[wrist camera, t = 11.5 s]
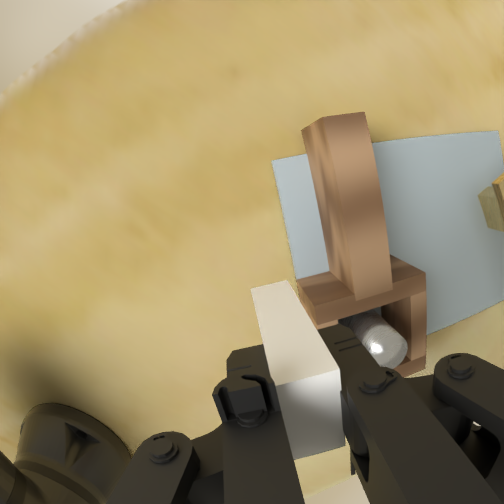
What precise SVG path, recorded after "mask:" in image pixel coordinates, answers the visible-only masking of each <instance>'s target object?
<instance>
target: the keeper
mask: <svg viewBox="0 0 504 504" xmlns="http://www.w3.org/2000/svg"><path fill="white" fill-rule="evenodd" d="M492 186H493V187H490V186H488V187H486V188H485V189H484V190H483V191H482V192H481V193H479V194H478V198H479V201H480V204H481V207H482V210H483V213H484V217H485V220H486V223H487V226H488V228H490V229H494V230H498V231H502V232H504V173H502V174H501V175H500V176H499V177H498V178H497V179H496V180H495V181H493V182H492Z"/></svg>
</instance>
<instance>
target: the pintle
mask: <svg viewBox="0 0 504 504" xmlns="http://www.w3.org/2000/svg"><path fill="white" fill-rule="evenodd" d="M338 321H339V322H340V324H341V325H343V326H345V327H348V328H350V329H351V330H352V331H353V332H354V334H355V335H356V336H357V338H358V339H359V340H360V341H361V343H362V345H364V346H365V348H366V349H367V350H368V351H369V353H370V354H371V355H372V356H373V358H374V359H375V360H376V361H377V363H378V364H379V365H380V367H388V368H391V369H394V368H395V367H397V366H398V365H399V364H400V363H401V362H402V361H403V359H404V358H405V356H406V353H407V349H408V346H407V342H406V340H405V339H404V338H403V337H402V336H401V335H400V334H399V333H398V332H397V331H396V330H395V329H394V328H393V327H392V326H391V325H389V324H388V323H387V322H386V321H385V320H384V319H383V318H382V317H381V316H380V315H379V314H378V313H377V312H376V311H375V310H374V309H371V310H368V311H364V312H361V313H358V314H355V315H351V316H348V317H345V318H341V319H338Z"/></svg>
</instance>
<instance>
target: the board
mask: <svg viewBox="0 0 504 504" xmlns="http://www.w3.org/2000/svg"><path fill="white" fill-rule="evenodd" d="M372 147H373V152H374V157H375V162H376V167H377V172H378V178H379V183H380V189H381V195H382V201H383V208H384V214H385V221H386V229H387V236H388V244H389V253H390V254H391V255H393V256H395V257H396V258H398V259H400V260H402V261H404V262H406V263H408V264H410V265H412V266H414V267H416V268H418V269H420V270H422V271H424V272H426V295H427V335H429V334H431V333H433V332H436V331H438V330H441V329H443V328H445V327H448V326H450V325H452V324H455V323H457V322H459V321H461V320H463V319H466V318H468V317H470V316H472V315H474V314H476V313H479V312H481V311H483V310H485V309H487V308H489V307H491V306H493V305H495V304H497V303H499V302H501V301H503V300H504V232H502V231H498V230H494V229H490V228H488V226H487V223H486V220H485V217H484V213H483V210H482V207H481V204H480V201H479V198H478V194H479V193H481V192H482V191H483V190H484V189H485V188H486V187H488V186H490V187H493V186H492V182H493V181H495V180H496V179H497V178H498V177H499V176H500V175H501V174H502V173H504V164H503V157H502V150H501V144H500V138H499V133H498V131H485V132H470V133H457V134H445V135H435V136H425V137H416V138H407V139H399V140H391V141H384V142H376V143H372ZM271 162H272V167H273V171H274V176H275V180H276V185H277V189H278V194H279V199H280V203H281V208H282V212H283V217H284V222H285V227H286V232H287V236H288V241H289V246H290V251H291V256H292V261H293V266H294V271H295V276H296V280H297V279H301V278H304V277H308V276H312V275H316V274H320V273H324V272H327V271H329V265H328V259H327V253H326V247H325V242H324V236H323V231H322V225H321V220H320V215H319V210H318V205H317V200H316V195H315V190H314V185H313V180H312V175H311V171H310V166H309V162H308V157H307V154H303V155H298V156H293V157H288V158H283V159H278V160H273V161H271ZM374 310H375V311H376V312H377V313H378V314H379V315H380V316H381V306H380V307H377V308H374ZM338 324H340V322H339V321H338Z"/></svg>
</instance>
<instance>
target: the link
mask: <svg viewBox="0 0 504 504" xmlns="http://www.w3.org/2000/svg"><path fill="white" fill-rule="evenodd" d="M301 131H302V135H303V140H304V144H305V148H306V153H307V157H308V162H309V166H310V171H311V175H312V180H313V185H314V190H315V195H316V200H317V205H318V210H319V215H320V220H321V225H322V231H323V236H324V242H325V247H326V253H327V259H328V265H329V271H327V272H324V273H320V274H316V275H312V276H308V277H304V278H301V279H297V280H296V282H297V287H298V292H299V297H300V302H301V304H302V306H303V307H304V309H305V311H306V313H307V314H308V316H309V318H310V319H311V321H312V323H313V324H314V326H315V328H316V329H317V330H318V329H321V328H325V327H329V326H332V325H336V324H338V319H341V318H345V317H348V316H351V315H355V314H358V313H361V312H364V311H368V310H371V309H374V308H377V307H380V306H381V317H382V318H383V319H384V320H385V321H386V322H387V323H388V324H389V325H391V326H392V327H393V328H394V329H395V330H396V331H397V332H398V333H399V334H400V335H401V336H402V337H403V338H404V339H405V340H406V342H407V346H408V349H407V353H406V356H405V358H404V359H403V361H402V362H401V363H400V364H399V365H398V366H397V367H395V368H394V370H395V371H397V372H398V373H399V374H401V376H402V377H403V378H404V377H406V376H409V375H411V374H414V373H416V372H418V371H421V370H423V369H425V363H426V338H427V295H426V272H424V271H422V270H420V269H418V268H416V267H414V266H412V265H410V264H408V263H406V262H404V261H402V260H400V259H398V258H396V257H395V256H393V255H391V254H390V253H389V244H388V236H387V229H386V221H385V214H384V208H383V201H382V195H381V189H380V183H379V178H378V172H377V167H376V162H375V157H374V152H373V147H372V142H371V138H370V133H369V129H368V125H367V121H366V116H365V112H358V113H350V114H342V115H334V116H327V117H322V118H320V119H319V120H317V121H315V122H314V123H312V124H310V125H309V126H307V127H306V128H304V129H302V130H301Z"/></svg>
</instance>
